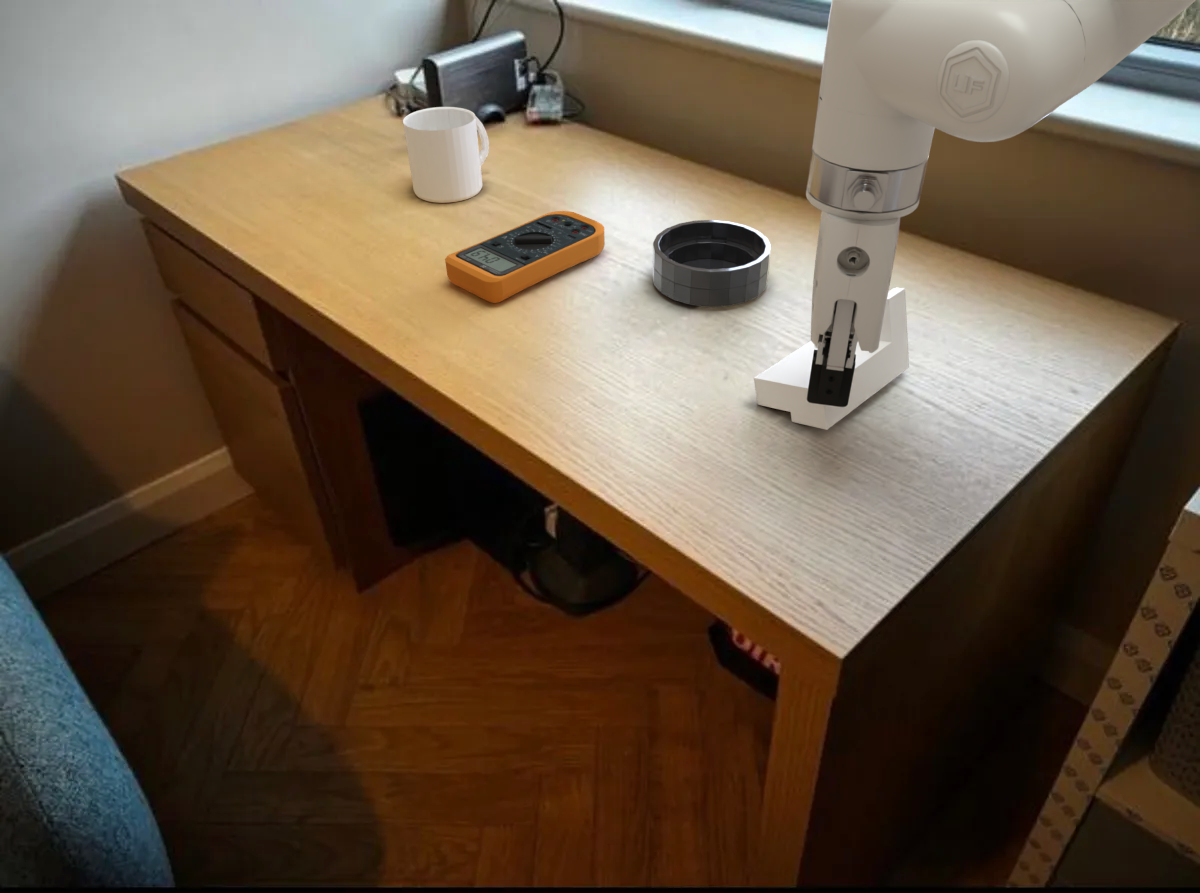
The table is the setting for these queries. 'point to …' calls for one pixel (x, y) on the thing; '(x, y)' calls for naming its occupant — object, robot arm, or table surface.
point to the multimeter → (525, 255)
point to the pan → (711, 263)
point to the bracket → (871, 373)
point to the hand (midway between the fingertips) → (827, 399)
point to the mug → (445, 153)
